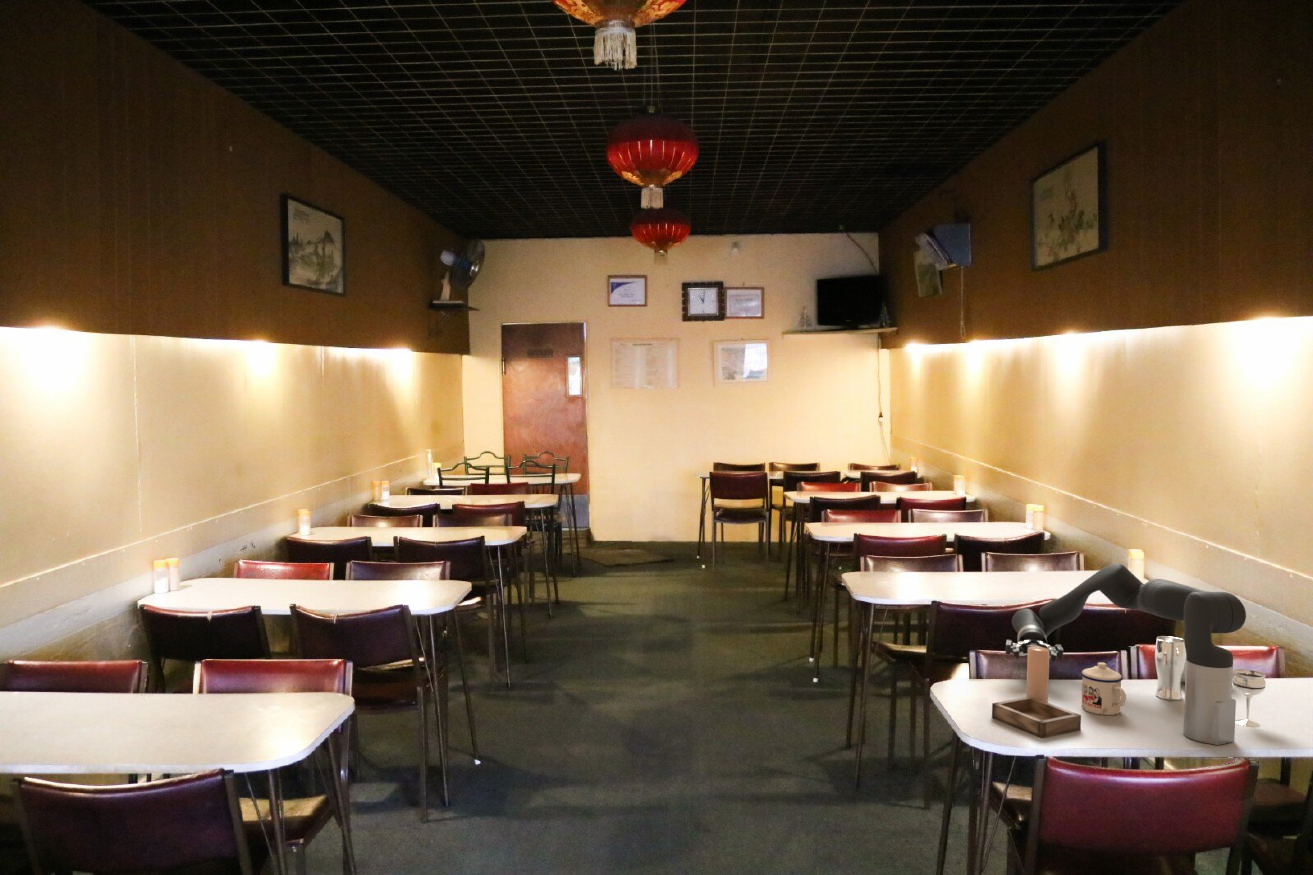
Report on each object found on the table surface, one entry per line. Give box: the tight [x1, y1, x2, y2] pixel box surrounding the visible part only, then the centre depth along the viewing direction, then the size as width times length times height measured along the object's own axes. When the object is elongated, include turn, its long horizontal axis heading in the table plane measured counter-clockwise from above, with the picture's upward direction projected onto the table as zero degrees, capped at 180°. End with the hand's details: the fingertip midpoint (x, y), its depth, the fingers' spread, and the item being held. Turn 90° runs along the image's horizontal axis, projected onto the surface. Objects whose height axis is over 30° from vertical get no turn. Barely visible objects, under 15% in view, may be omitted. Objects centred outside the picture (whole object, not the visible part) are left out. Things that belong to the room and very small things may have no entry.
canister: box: [1026, 647, 1050, 703], centre depth 241 cm, size 5×5×14 cm
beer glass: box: [1154, 635, 1186, 701], centre depth 248 cm, size 7×7×15 cm
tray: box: [991, 696, 1082, 739], centre depth 227 cm, size 15×12×4 cm
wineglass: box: [1232, 668, 1267, 728], centre depth 228 cm, size 7×7×12 cm
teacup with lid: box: [1081, 661, 1127, 716], centre depth 236 cm, size 12×9×12 cm
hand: (1035, 656), depth 251 cm, fingers open, 8 cm apart
